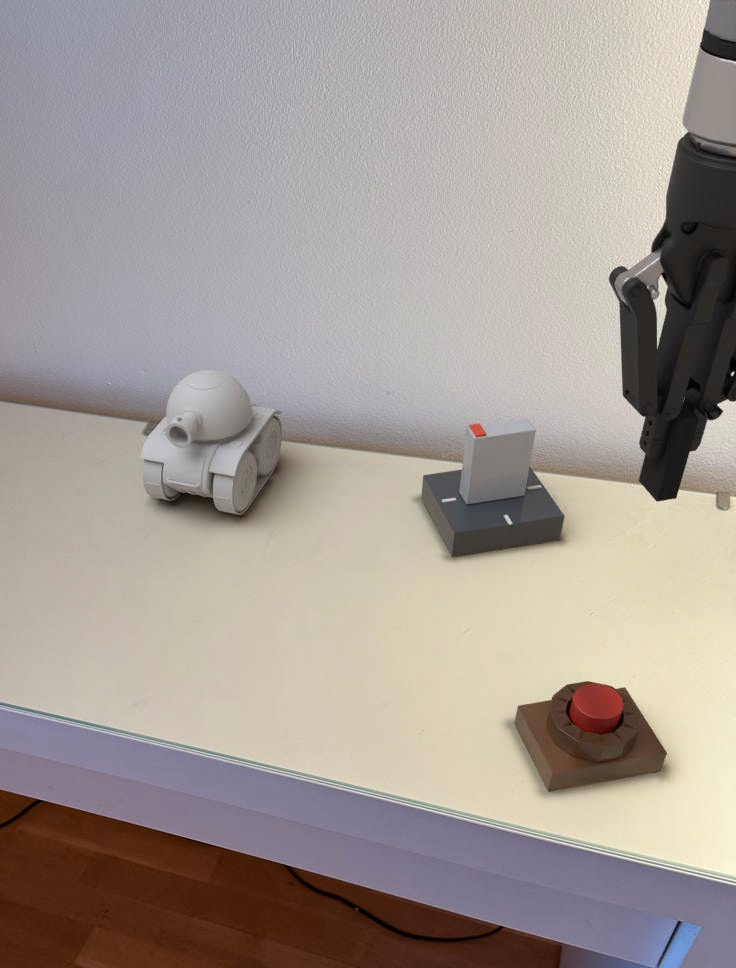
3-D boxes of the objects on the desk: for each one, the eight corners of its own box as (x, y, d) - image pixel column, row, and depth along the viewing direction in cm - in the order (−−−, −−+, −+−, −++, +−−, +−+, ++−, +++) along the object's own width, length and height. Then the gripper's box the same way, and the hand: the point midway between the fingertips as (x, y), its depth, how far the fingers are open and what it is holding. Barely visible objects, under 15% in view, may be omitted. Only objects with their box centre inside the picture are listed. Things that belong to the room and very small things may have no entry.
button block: (619, 705, 78) (630, 670, 75) (660, 771, 73) (673, 737, 70) (513, 723, 77) (520, 689, 75) (547, 791, 72) (556, 758, 70)
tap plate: (521, 483, 101) (525, 457, 99) (560, 541, 94) (565, 514, 92) (420, 498, 100) (422, 473, 98) (452, 558, 93) (455, 531, 91)
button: (606, 695, 74) (610, 679, 73) (627, 729, 72) (632, 714, 70) (561, 703, 74) (565, 687, 73) (581, 737, 71) (585, 722, 70)
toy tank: (233, 533, 98) (223, 421, 89) (141, 514, 101) (122, 404, 92) (286, 456, 107) (282, 348, 98) (201, 440, 111) (189, 335, 102)
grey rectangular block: (516, 483, 96) (527, 415, 91) (524, 496, 95) (536, 427, 89) (459, 492, 96) (466, 424, 90) (466, 505, 94) (474, 436, 89)
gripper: (675, 173, 50) (594, 535, 66) (907, 140, 51) (771, 504, 67) (609, 131, 55) (549, 475, 71) (820, 101, 56) (714, 447, 72)
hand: (657, 489), depth 69 cm, fingers closed
